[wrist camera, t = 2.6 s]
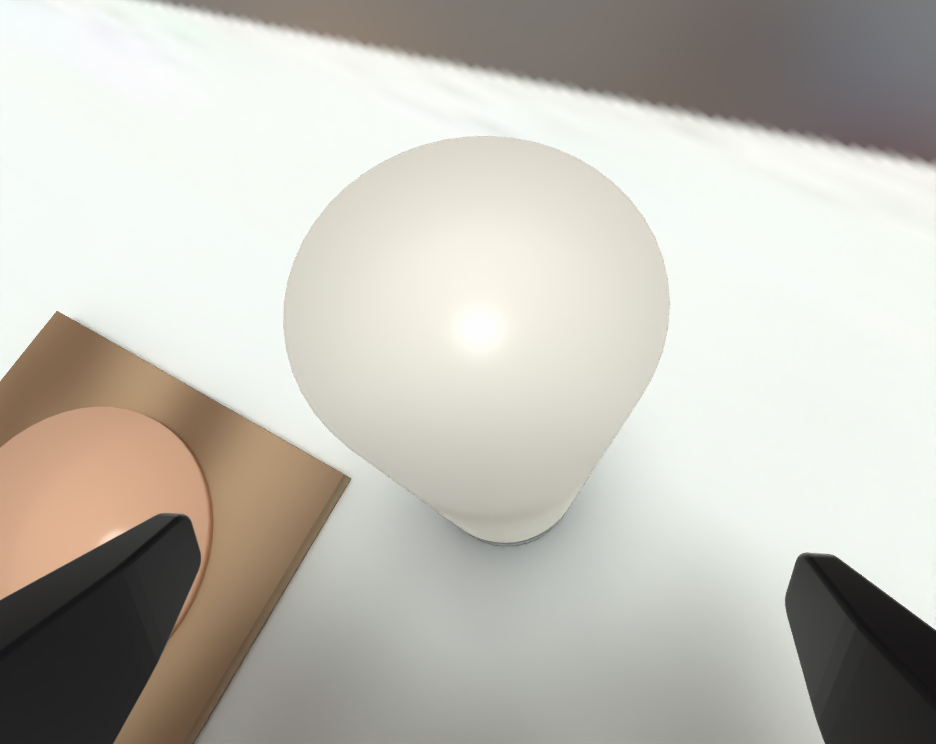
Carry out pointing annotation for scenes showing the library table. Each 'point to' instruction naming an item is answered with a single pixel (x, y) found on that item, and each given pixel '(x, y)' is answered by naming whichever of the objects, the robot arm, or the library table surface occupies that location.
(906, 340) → the library table surface
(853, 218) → the library table surface
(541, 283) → the frosted light bulb
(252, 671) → the library table surface
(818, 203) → the library table surface
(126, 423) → the terracotta coaster
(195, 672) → the walnut board
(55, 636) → the robot arm
